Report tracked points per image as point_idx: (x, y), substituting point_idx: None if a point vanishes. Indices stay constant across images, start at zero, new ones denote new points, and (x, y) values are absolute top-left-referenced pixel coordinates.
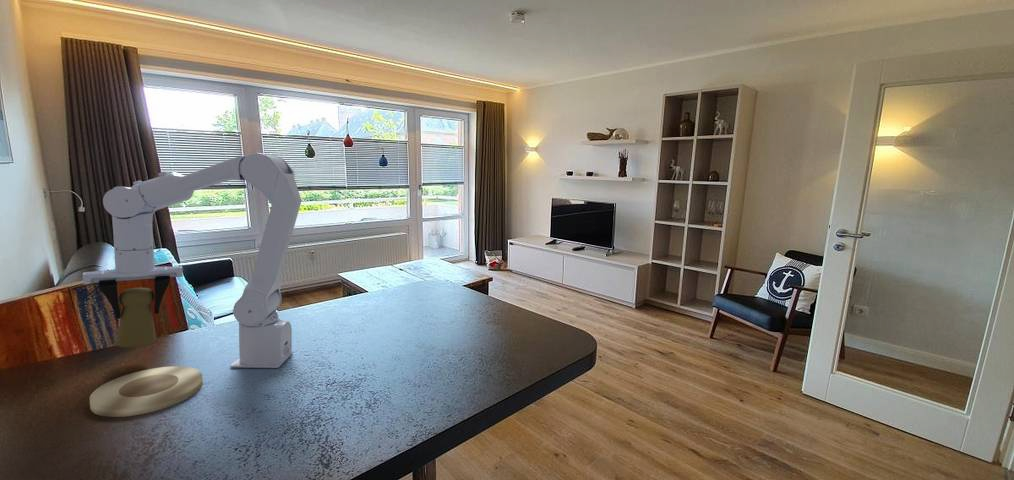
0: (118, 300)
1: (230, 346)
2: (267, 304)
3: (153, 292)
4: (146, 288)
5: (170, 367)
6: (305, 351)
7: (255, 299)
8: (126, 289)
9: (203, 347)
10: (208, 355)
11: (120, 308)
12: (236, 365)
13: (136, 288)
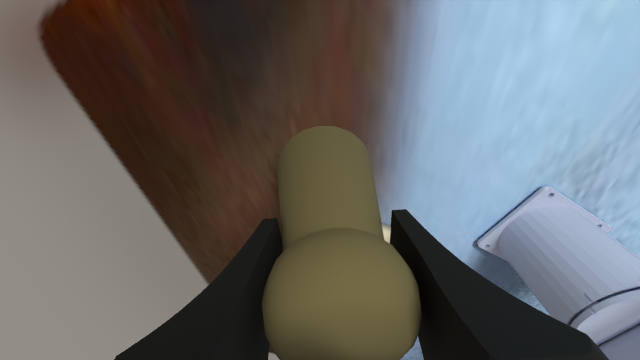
0: (262, 296)
1: (531, 121)
2: None
3: (421, 316)
4: (395, 343)
5: (384, 237)
6: (632, 225)
7: None
8: (287, 339)
9: (473, 95)
10: (464, 161)
11: (270, 234)
12: (486, 250)
13: (343, 355)
